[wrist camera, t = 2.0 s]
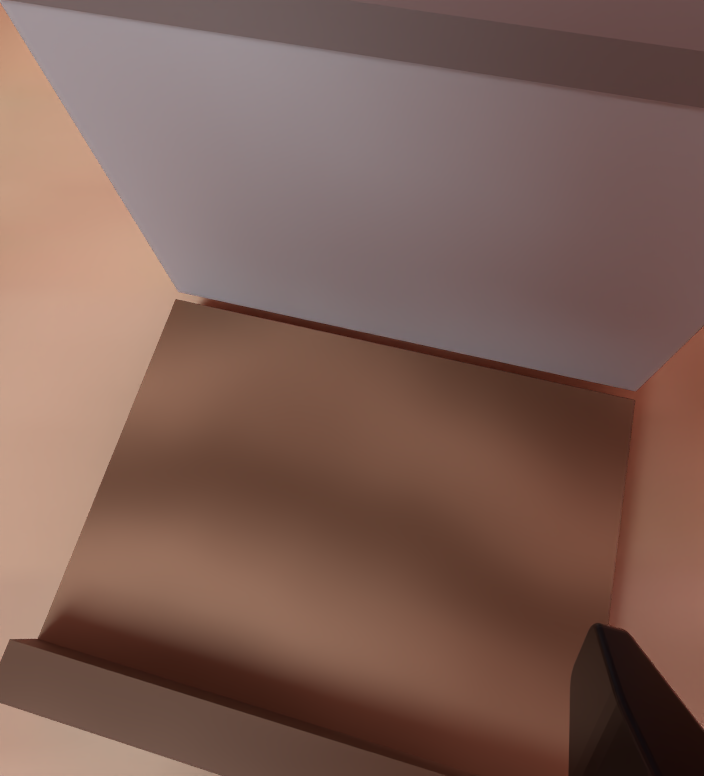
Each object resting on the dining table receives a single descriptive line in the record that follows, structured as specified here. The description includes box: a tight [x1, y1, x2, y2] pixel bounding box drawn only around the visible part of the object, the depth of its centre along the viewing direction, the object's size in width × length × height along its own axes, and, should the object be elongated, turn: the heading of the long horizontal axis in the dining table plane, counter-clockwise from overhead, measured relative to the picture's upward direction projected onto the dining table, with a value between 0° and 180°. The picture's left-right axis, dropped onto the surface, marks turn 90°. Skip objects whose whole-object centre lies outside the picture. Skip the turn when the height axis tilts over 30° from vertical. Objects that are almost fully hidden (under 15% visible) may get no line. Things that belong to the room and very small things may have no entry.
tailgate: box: [0, 0, 704, 391], centre depth 16 cm, size 2×16×12 cm, turn 75°
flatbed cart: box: [0, 299, 635, 776], centre depth 19 cm, size 13×16×3 cm
